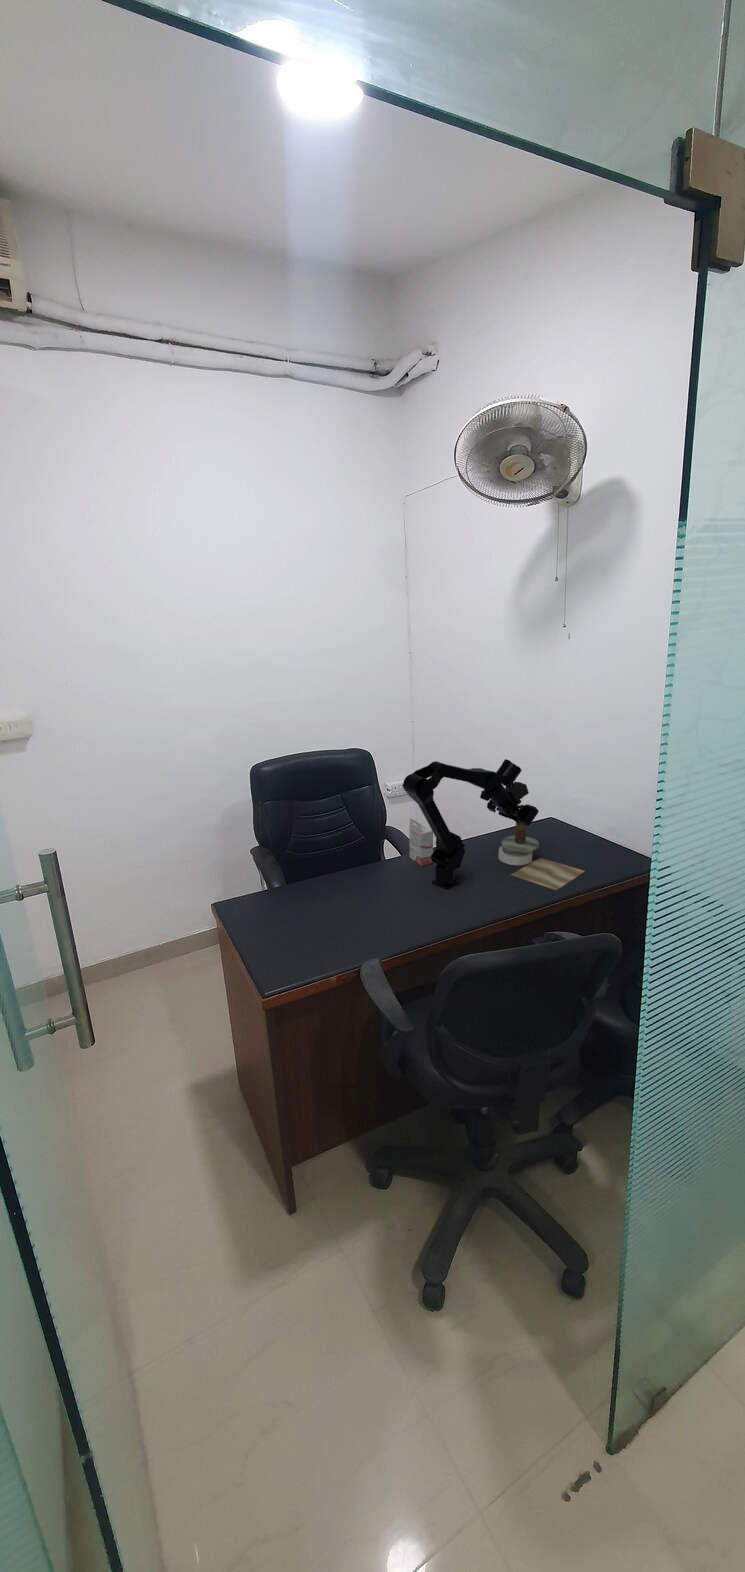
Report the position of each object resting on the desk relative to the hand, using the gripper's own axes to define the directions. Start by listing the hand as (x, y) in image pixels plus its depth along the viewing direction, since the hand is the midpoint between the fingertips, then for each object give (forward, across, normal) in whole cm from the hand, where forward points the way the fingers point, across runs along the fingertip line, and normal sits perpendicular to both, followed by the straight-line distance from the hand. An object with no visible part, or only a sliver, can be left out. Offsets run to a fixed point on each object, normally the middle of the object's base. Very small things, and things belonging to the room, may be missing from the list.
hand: (524, 822), depth 200 cm
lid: (+5, 0, +6) cm, 8 cm away
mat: (+9, -13, +10) cm, 18 cm away
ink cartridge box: (-10, +19, +30) cm, 37 cm away
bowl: (+8, +2, +11) cm, 14 cm away
